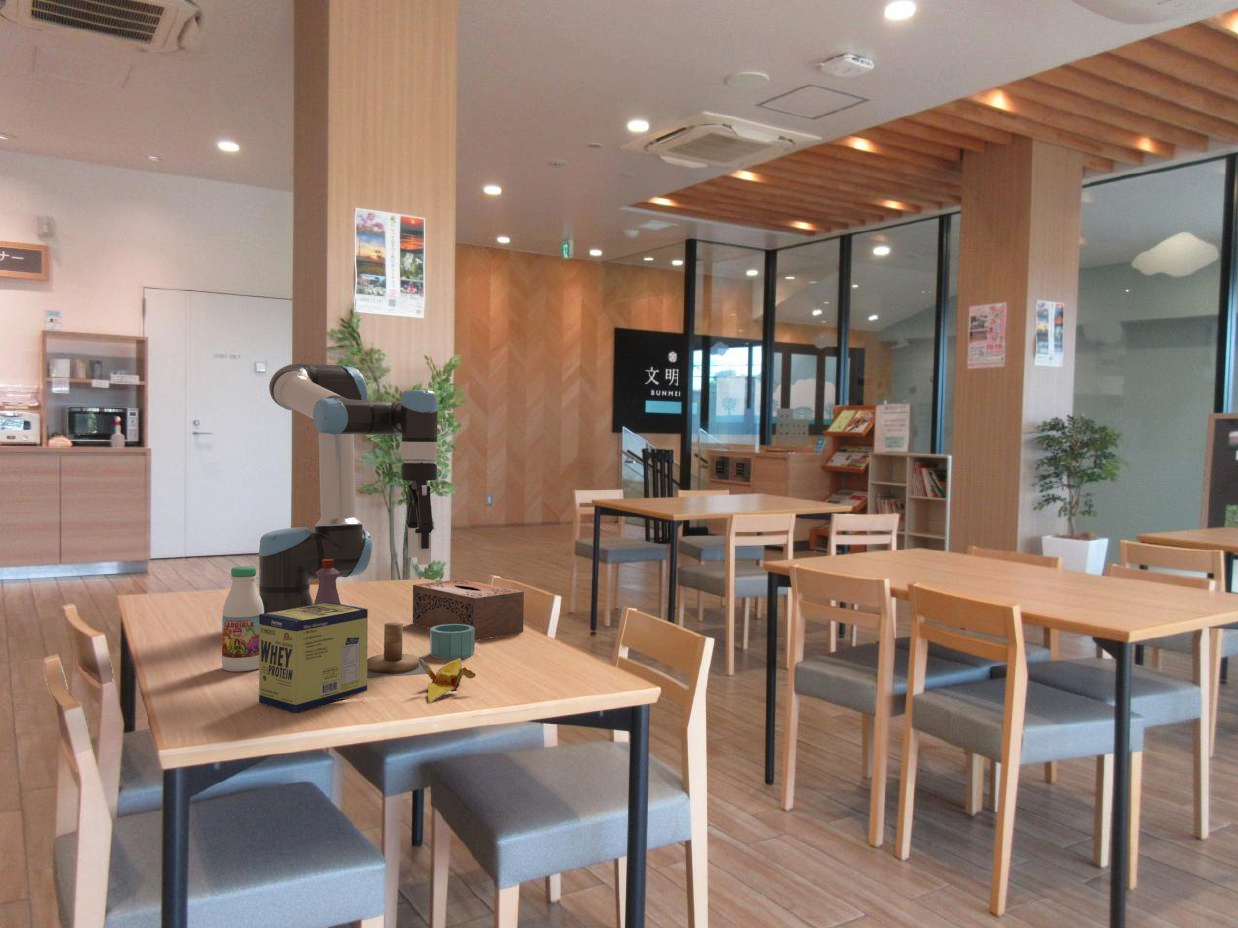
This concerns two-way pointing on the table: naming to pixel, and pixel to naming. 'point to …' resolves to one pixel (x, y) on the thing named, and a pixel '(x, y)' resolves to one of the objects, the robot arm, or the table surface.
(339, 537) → the robot arm
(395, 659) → the lid
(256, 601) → the milk bottle
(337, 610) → the protein box
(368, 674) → the mat
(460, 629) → the teal short cylinder
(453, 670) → the origami crane
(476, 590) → the tissue box cover
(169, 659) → the table surface
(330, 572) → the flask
